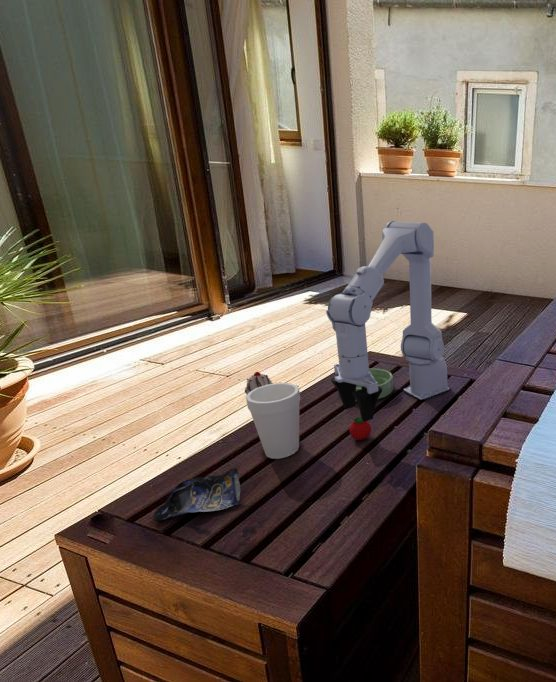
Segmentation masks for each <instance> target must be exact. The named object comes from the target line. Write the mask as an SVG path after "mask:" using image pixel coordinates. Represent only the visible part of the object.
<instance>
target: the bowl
mask: <svg viewBox="0 0 556 682" xmlns="http://www.w3.org/2000/svg"><path fill="white" fill-rule="evenodd" d="M369 371H370V372H371V374H372V376H373V378H374V380H375V381H376V382H378V386H379V387H381V388H382V392H381V394H380V396H379V398H378V400H380V399H383V398H385V397H388V396H389V395H390V394H392V392H393V391H394V388H395V387H394V378H393V377H394V376H393V374H392V372H391V371H388V370H386V369H382V368H372V367H371V368H370V367H369ZM361 387H362V386H360V385H356V391H357V390H360V389H361V390H362V388H361ZM356 402H357V400H356Z"/></svg>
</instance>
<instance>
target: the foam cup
mask: <svg viewBox="0 0 556 682" xmlns="http://www.w3.org/2000/svg"><path fill="white" fill-rule="evenodd" d="M245 400H246V401H245V402H246V405H247V409H248V411H249V413H250V415H251V418H252V421H253V423H254V426H255V429H256V432H257V435H258V437H259V438H258V439H259V440H260V443H261V446H262V449H263V452H264V454H265V456H266V457H267V458H269V459H273V460H280V459H284V458H288V457H290V456H292V455H294V454H295V453H296V452H298V451H299V447H300V400H301V392H300V388H299V387H298V386H297V384H292V383H289V382H276V383H273V384H268V385H264V386H261V387H258V388H256V389H254V390H252V391H250V392H249V393H248V394H246V396H245Z"/></svg>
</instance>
